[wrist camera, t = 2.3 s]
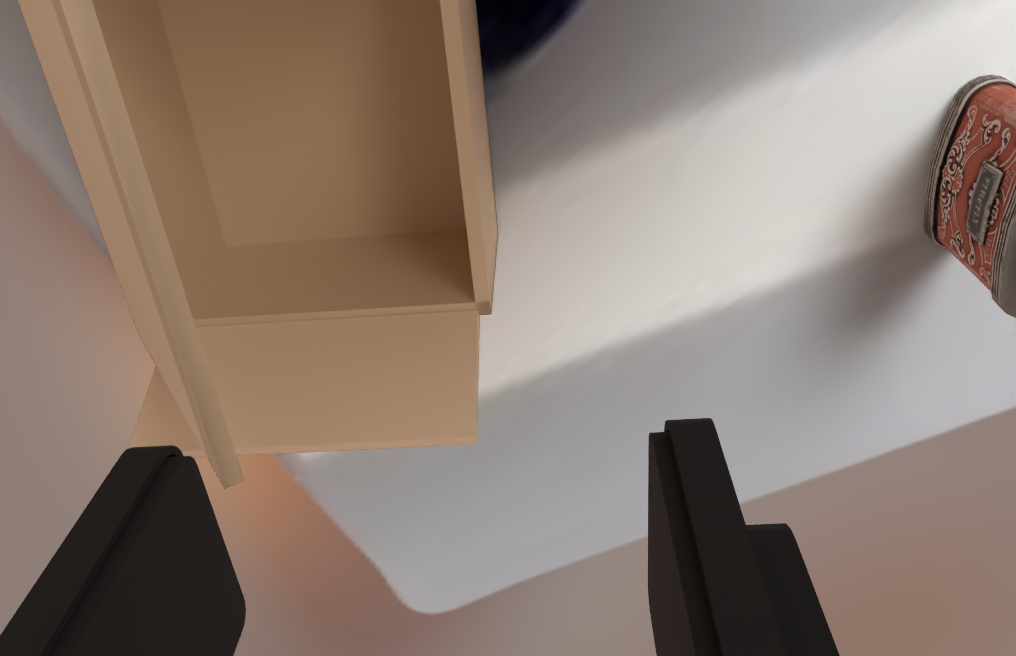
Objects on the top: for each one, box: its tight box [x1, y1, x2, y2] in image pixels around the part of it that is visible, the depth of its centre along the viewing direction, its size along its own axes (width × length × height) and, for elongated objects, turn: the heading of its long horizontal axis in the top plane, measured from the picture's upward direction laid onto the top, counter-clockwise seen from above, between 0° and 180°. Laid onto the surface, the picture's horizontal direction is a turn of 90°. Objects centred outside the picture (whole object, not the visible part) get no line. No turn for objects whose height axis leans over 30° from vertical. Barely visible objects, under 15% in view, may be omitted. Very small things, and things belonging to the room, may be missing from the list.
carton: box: [91, 0, 498, 458], centre depth 31 cm, size 14×22×14 cm, turn 5°
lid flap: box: [18, 0, 244, 489], centre depth 25 cm, size 12×17×1 cm
